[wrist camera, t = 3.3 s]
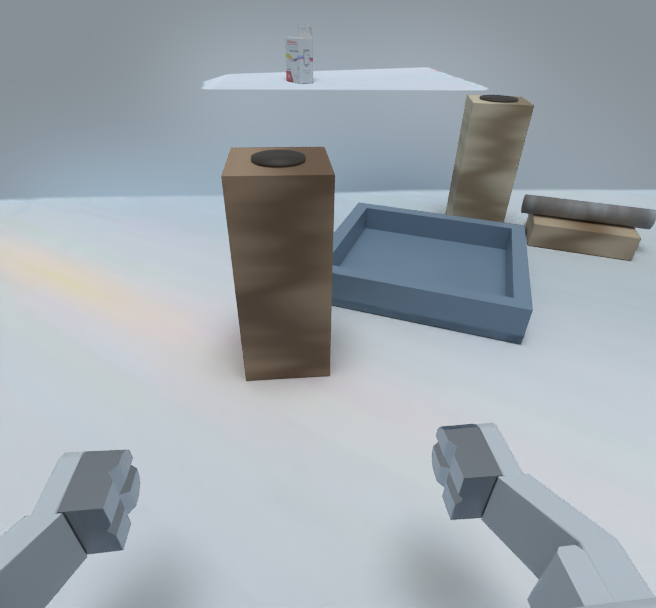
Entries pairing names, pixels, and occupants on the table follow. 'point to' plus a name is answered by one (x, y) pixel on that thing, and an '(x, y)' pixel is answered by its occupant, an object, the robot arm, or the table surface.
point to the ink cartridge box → (300, 56)
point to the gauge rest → (585, 226)
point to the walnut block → (281, 257)
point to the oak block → (488, 156)
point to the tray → (434, 270)
